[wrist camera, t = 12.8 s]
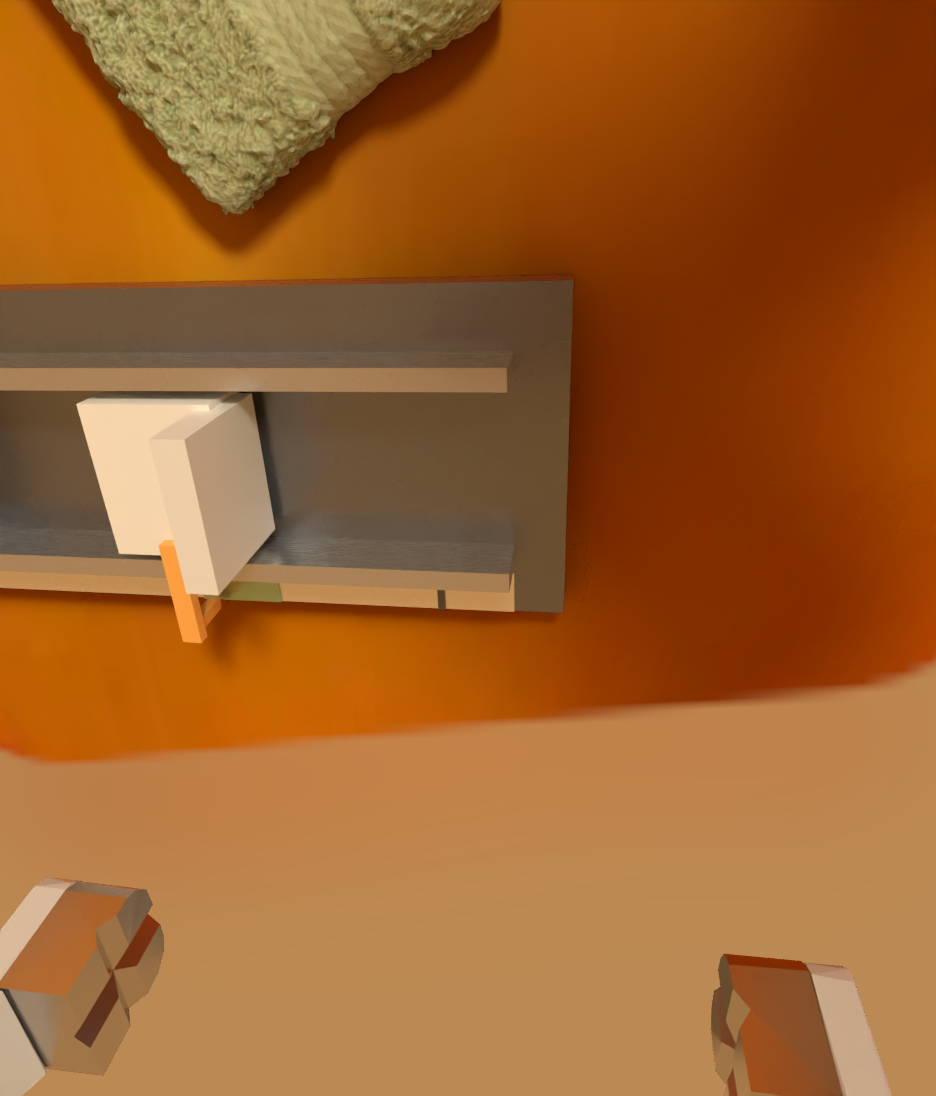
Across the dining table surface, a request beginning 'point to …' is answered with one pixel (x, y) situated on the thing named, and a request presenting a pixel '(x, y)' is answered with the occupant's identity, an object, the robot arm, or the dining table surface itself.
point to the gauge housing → (311, 432)
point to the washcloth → (256, 73)
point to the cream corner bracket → (182, 487)
